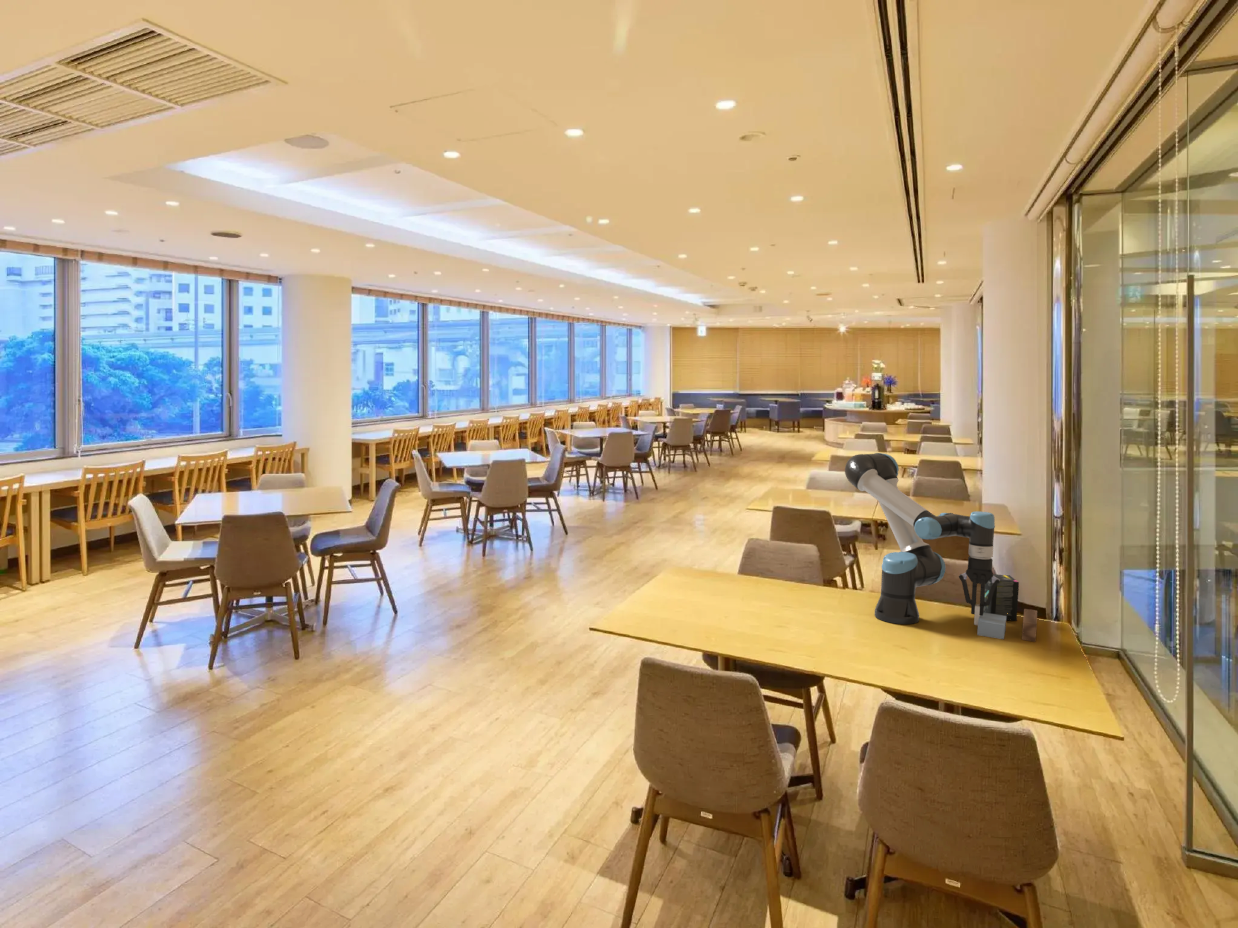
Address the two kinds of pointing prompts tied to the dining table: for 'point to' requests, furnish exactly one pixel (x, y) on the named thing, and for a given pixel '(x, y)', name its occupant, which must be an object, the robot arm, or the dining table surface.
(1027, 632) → the walnut board
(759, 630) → the dining table surface
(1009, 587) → the tampon box
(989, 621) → the block
